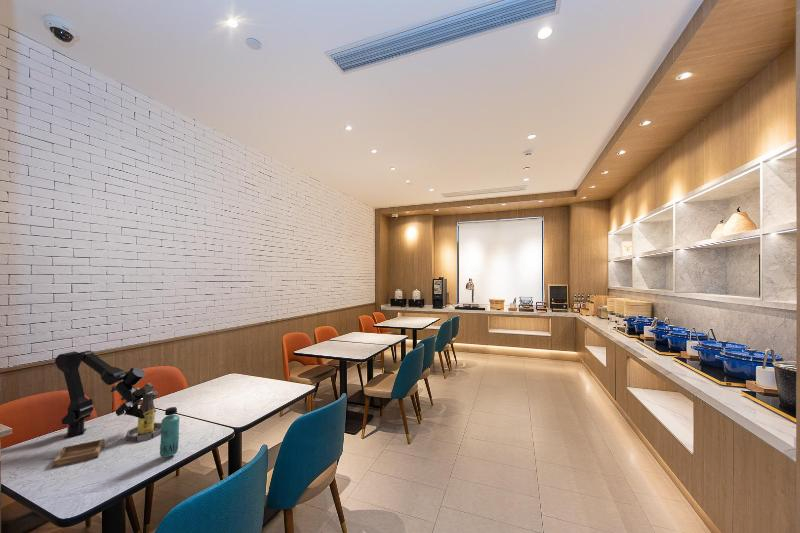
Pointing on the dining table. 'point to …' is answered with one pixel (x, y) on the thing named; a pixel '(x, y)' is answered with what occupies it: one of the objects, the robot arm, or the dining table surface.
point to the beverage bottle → (169, 433)
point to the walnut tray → (78, 453)
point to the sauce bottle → (146, 415)
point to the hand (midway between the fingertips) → (149, 415)
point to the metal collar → (134, 438)
